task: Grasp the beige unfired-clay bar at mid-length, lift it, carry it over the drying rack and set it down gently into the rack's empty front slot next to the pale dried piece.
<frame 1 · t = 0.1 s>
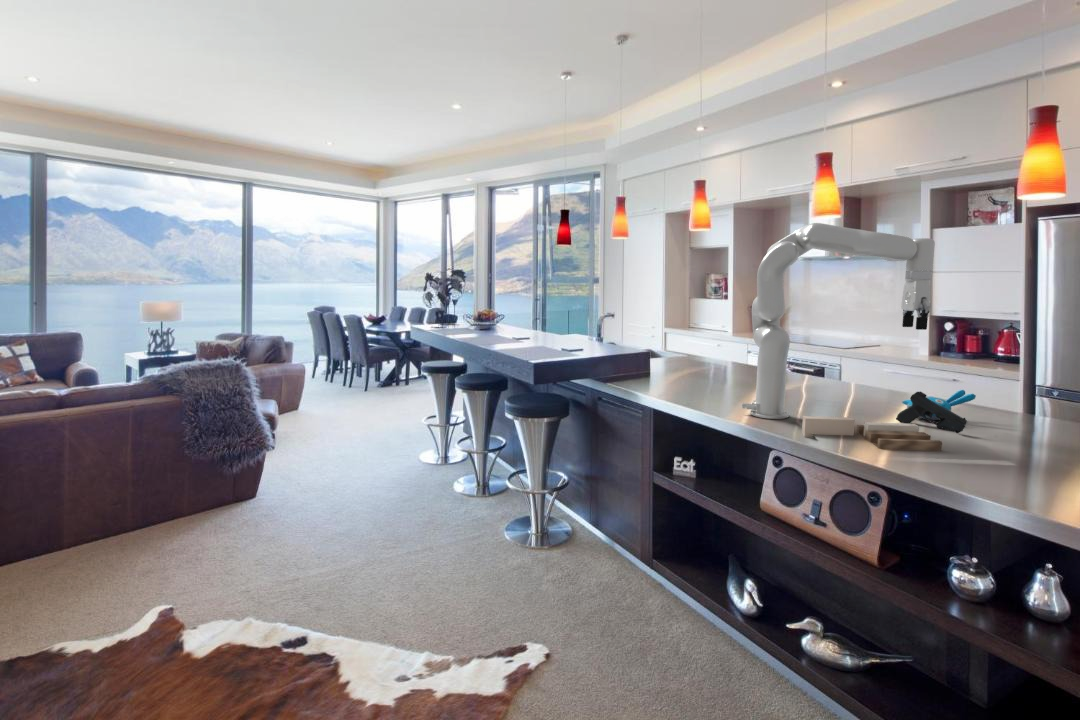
hand: (914, 328, 205), 31 cm above the countertop, tool pointing down, fingers open, 9 cm apart
handgun: (929, 430, 195), on the countertop
rack: (896, 444, 178), on the countertop
toy: (936, 420, 209), on the countertop
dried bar: (890, 437, 182), point 1 cm above the countertop, touching rack
clay bar: (827, 437, 187), on the countertop
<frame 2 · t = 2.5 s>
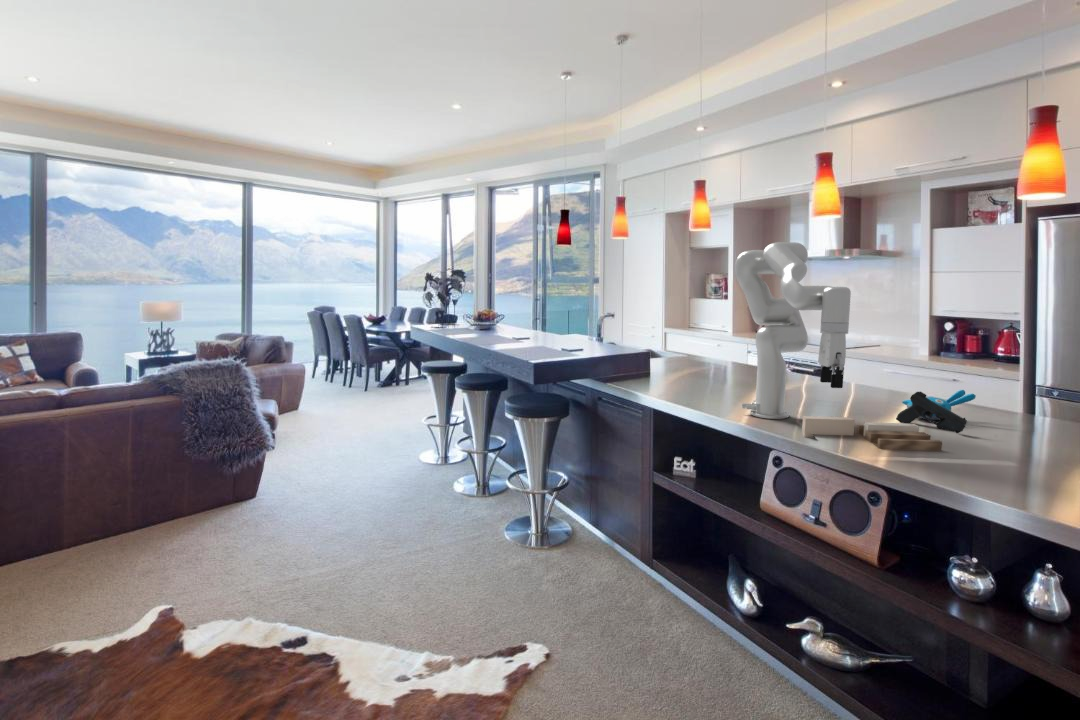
hand: (831, 385, 185), 16 cm above the countertop, tool pointing down, fingers open, 9 cm apart
nothing on the countertop moved.
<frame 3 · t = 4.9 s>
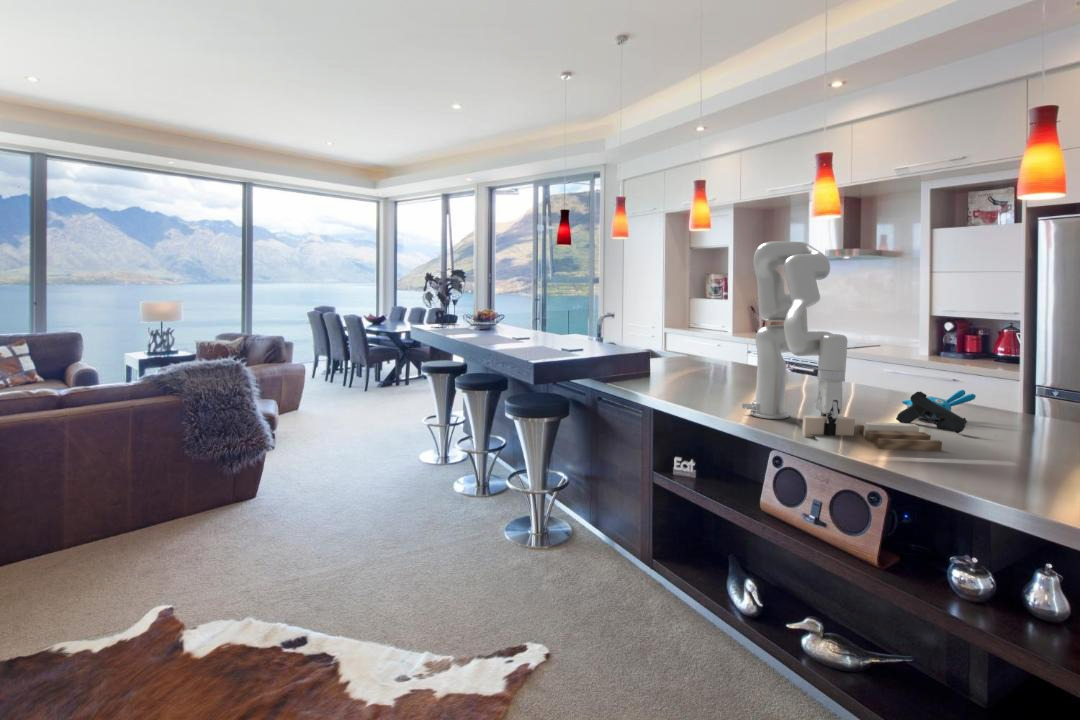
hand: (827, 434, 187), 1 cm above the countertop, tool pointing down, fingers closed on clay bar, 3 cm apart
clay bar: (827, 436, 187), on the countertop, touching gripper
everything else where it was.
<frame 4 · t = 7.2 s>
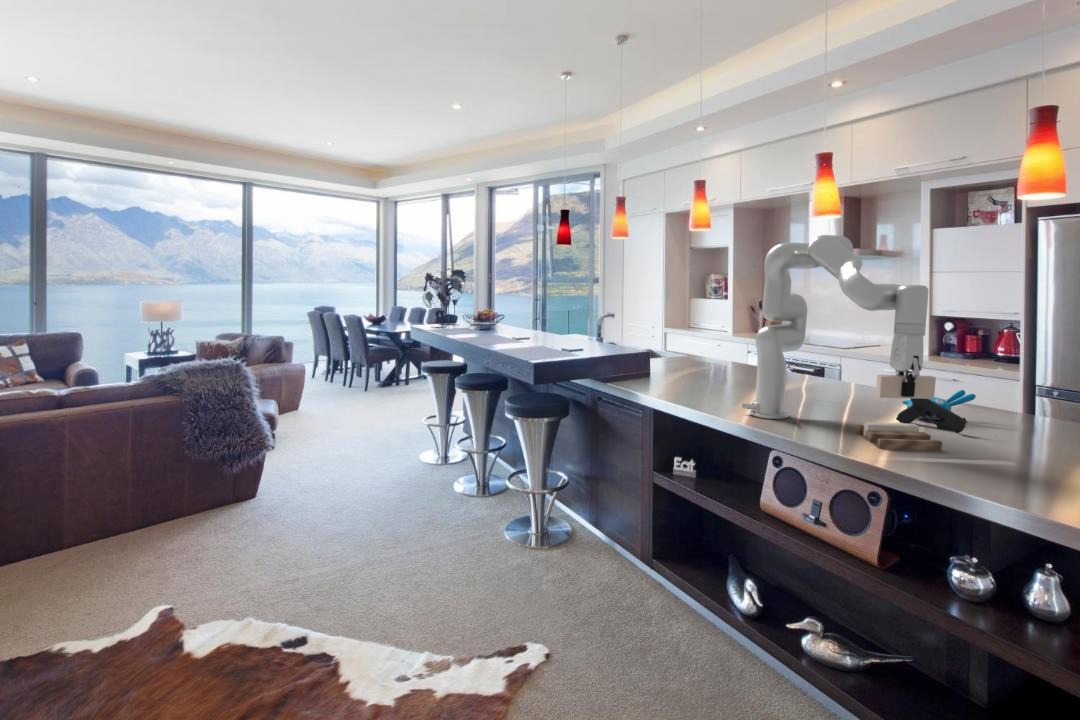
hand: (904, 394, 172), 16 cm above the countertop, tool pointing down, fingers closed on clay bar, 3 cm apart
clay bar: (904, 397, 172), point 15 cm above the countertop, touching gripper
everything else where it was.
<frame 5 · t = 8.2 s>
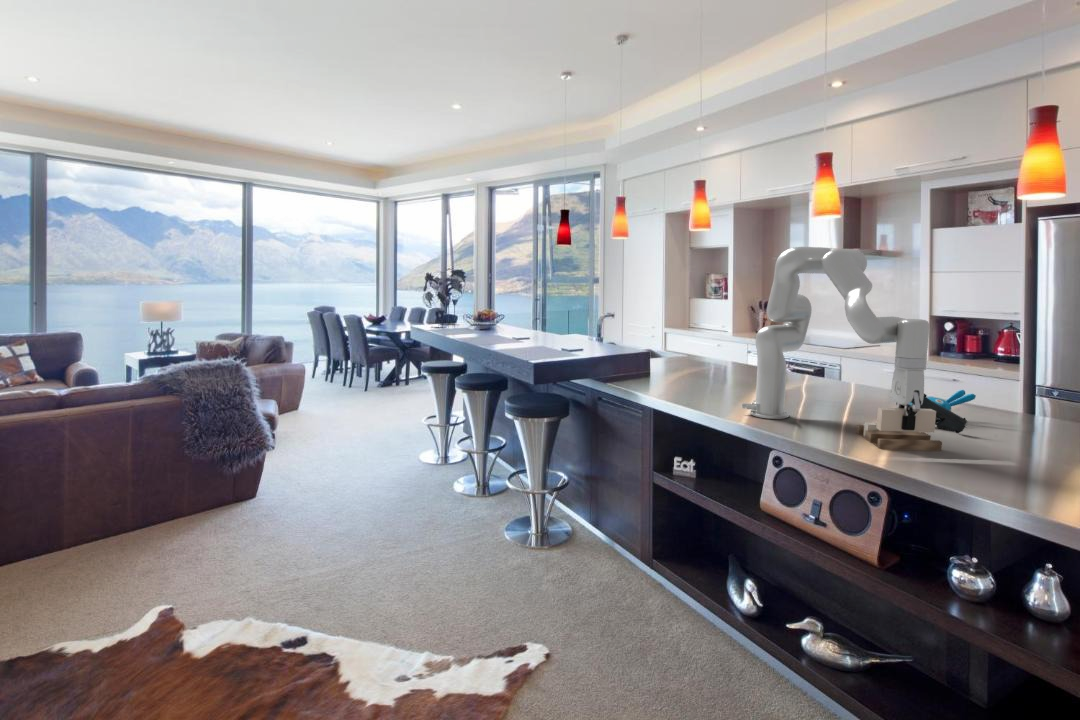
hand: (905, 427, 173), 6 cm above the countertop, tool pointing down, fingers closed on clay bar, 3 cm apart
clay bar: (904, 430, 173), point 6 cm above the countertop, touching gripper
everything else where it was.
when the fingers open (4 cm above the countertop, at t = 9.3 s): clay bar drops 2 cm, resting on rack.
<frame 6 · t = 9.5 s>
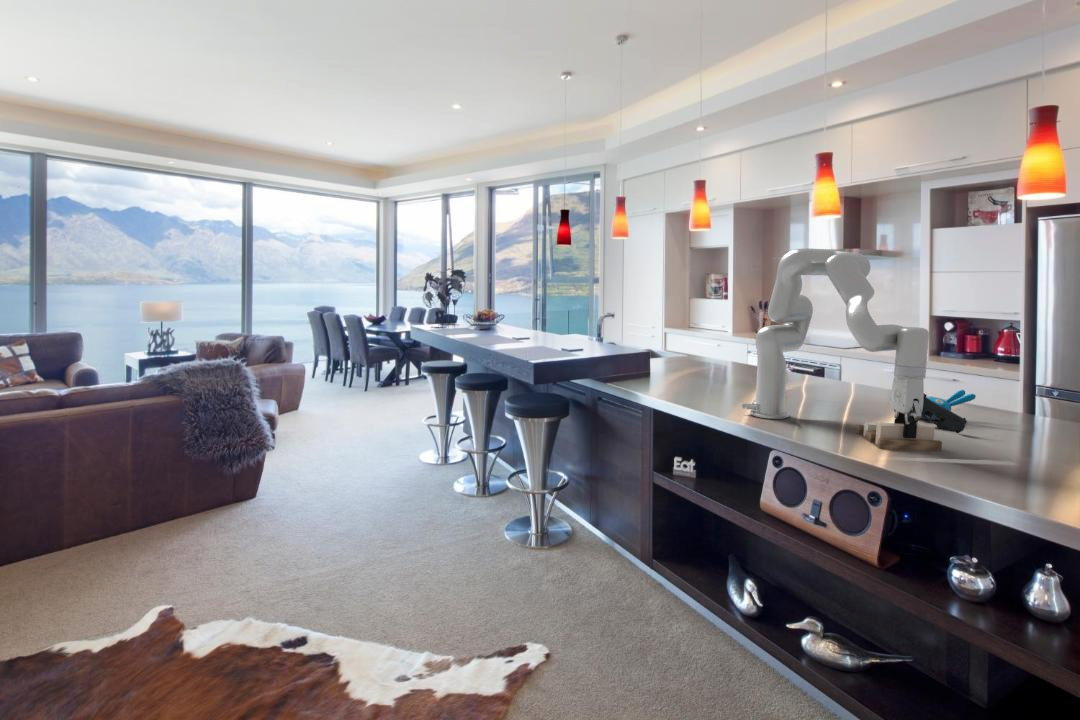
hand: (904, 434, 173), 4 cm above the countertop, tool pointing down, fingers open, 5 cm apart
clay bar: (903, 445, 173), point 1 cm above the countertop, touching rack
everything else where it was.
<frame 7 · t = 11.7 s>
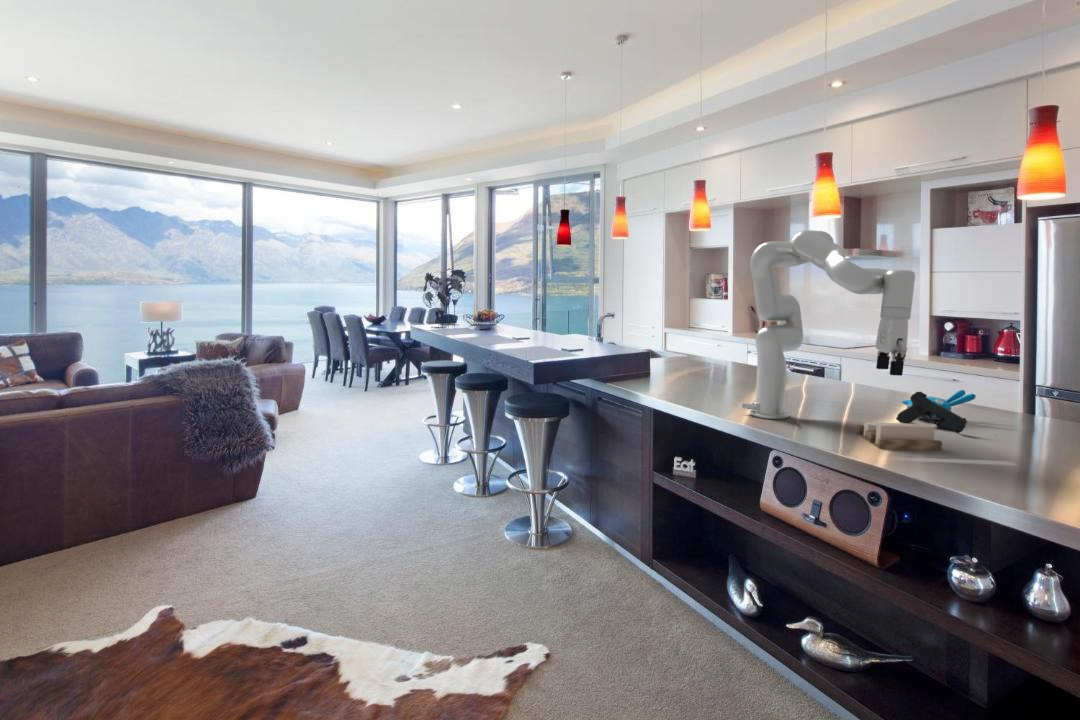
hand: (888, 372, 178), 21 cm above the countertop, tool pointing down, fingers open, 9 cm apart
nothing on the countertop moved.
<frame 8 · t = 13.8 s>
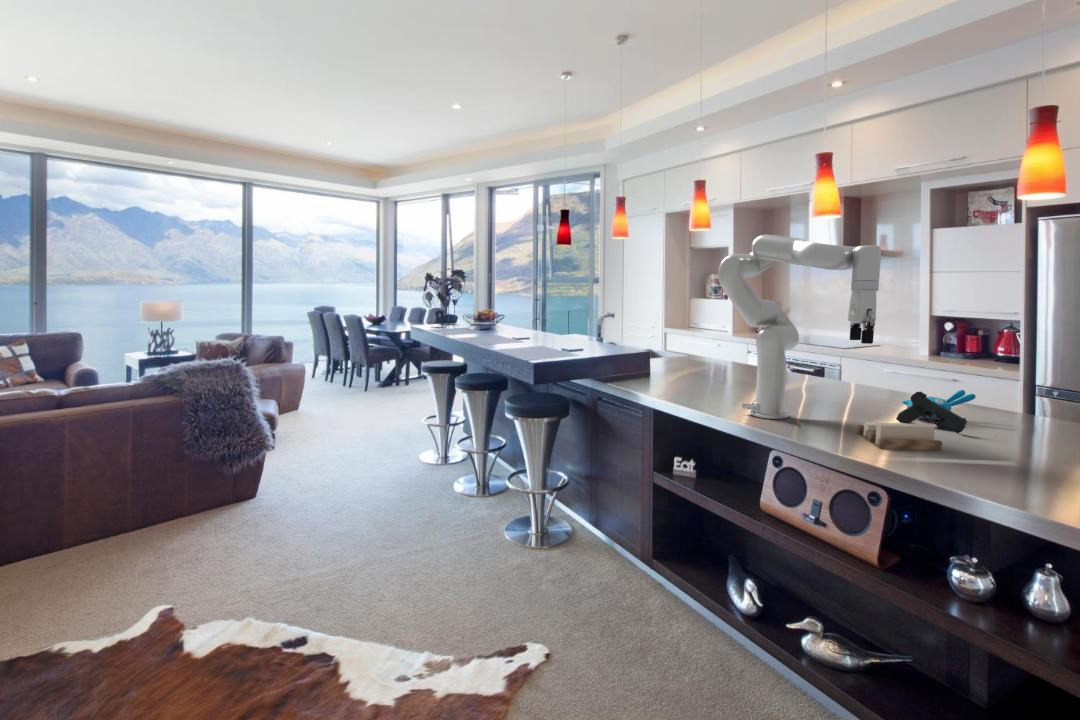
hand: (860, 341, 190), 28 cm above the countertop, tool pointing down, fingers open, 9 cm apart
nothing on the countertop moved.
at the end: clay bar inside the target area on the rack (0.0 cm from its centre), point 1.0 cm above the rack's base; clay bar tilted 0°; the gripper is holding nothing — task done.
